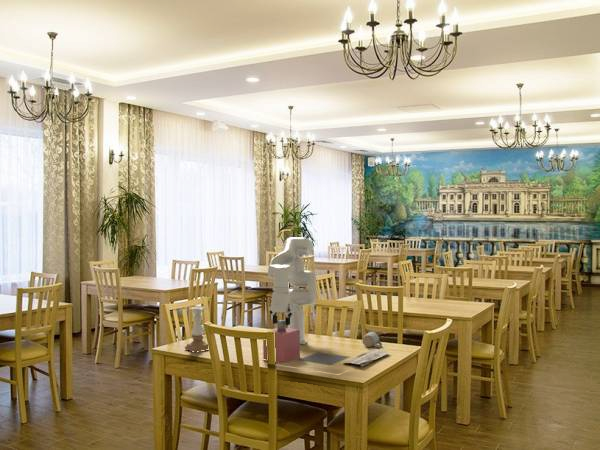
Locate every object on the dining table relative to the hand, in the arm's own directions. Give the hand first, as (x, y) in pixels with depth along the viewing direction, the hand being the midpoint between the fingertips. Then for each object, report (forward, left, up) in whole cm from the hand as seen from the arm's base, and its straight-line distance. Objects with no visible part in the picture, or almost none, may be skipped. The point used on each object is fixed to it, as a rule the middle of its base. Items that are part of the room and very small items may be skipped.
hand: (281, 324), depth 306 cm
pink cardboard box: (0, 0, -18) cm, 18 cm away
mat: (+19, +11, -18) cm, 29 cm away
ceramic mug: (+26, +52, -19) cm, 61 cm away
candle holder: (-53, -7, -19) cm, 57 cm away
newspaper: (+39, +22, -19) cm, 48 cm away
